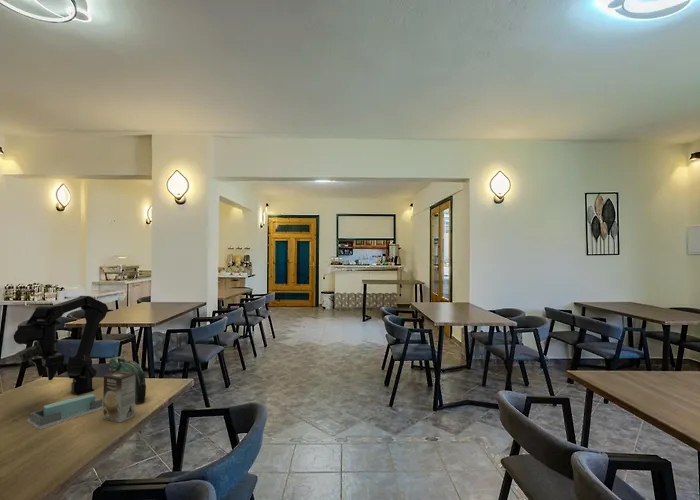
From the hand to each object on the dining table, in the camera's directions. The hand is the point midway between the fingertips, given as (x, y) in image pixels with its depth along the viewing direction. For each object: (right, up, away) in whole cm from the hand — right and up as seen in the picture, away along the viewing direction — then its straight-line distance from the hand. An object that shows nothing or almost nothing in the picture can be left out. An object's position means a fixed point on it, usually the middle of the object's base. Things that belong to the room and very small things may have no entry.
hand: (45, 377), depth 139 cm
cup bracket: (+14, -12, -5) cm, 19 cm away
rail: (+14, -11, -5) cm, 18 cm away
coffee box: (+34, -12, -8) cm, 37 cm away
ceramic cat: (+27, -13, +10) cm, 31 cm away
